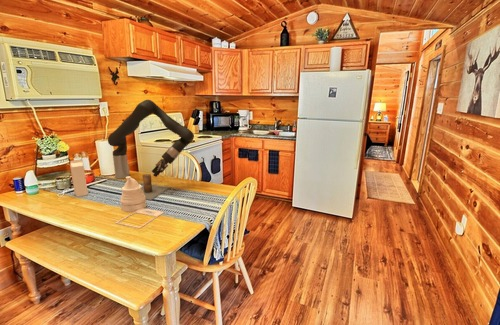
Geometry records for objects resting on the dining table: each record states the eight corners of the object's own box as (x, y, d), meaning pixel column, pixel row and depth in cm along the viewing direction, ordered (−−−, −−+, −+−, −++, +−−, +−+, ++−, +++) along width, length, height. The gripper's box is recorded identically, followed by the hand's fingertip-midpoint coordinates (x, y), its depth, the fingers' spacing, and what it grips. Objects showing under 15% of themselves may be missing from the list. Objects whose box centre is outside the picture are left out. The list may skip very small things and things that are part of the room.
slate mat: (146, 185, 176) (146, 184, 176) (169, 188, 173) (169, 187, 172) (124, 197, 156) (124, 196, 155) (150, 200, 152) (150, 199, 152)
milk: (88, 194, 160) (83, 160, 154) (76, 197, 156) (70, 162, 150) (85, 191, 164) (80, 158, 158) (74, 194, 160) (69, 159, 154)
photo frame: (163, 211, 136) (139, 227, 120) (164, 213, 136) (139, 229, 120) (141, 207, 141) (115, 222, 124) (141, 209, 141) (115, 224, 124)
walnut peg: (147, 189, 167) (145, 173, 164) (153, 190, 166) (152, 174, 163) (142, 192, 162) (141, 175, 160) (149, 193, 161) (147, 176, 159)
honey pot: (137, 212, 136) (133, 180, 131) (115, 210, 138) (111, 178, 134) (151, 203, 148) (148, 173, 144) (131, 201, 151) (127, 171, 146)
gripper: (164, 149, 169) (147, 167, 167) (168, 153, 157) (150, 173, 155) (173, 156, 173) (156, 174, 171) (177, 161, 161) (160, 180, 159)
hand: (153, 174), depth 163 cm, fingers open, 8 cm apart
